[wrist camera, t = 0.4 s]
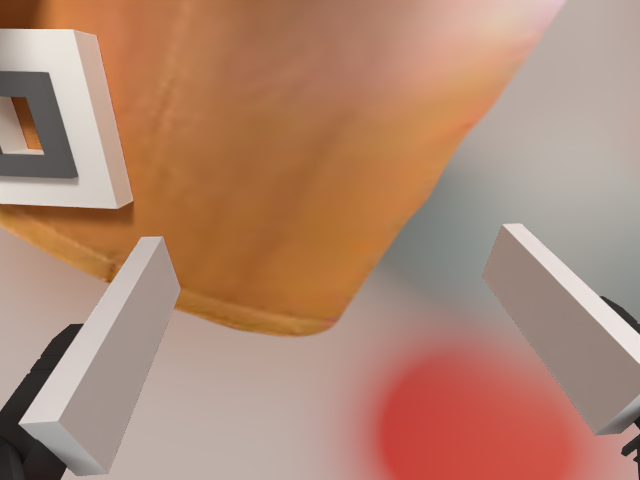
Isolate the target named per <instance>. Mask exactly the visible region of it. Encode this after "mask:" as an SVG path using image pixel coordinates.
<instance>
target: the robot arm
mask: <svg viewBox="0 0 640 480" xmlns="http://www.w3.org/2000/svg"><path fill="white" fill-rule="evenodd" d="M482 277H483V279H484V280H485V282H486V283H487V284H488V286H489V287H490V289H491V290H492V291H493V293H494V294H495V296H496V297H497V298H498V300H499V301H500V303H501V304H502V305H503V307H504V308H505V310H506V311H507V313H508V314H509V315H510V316H511V318H512V320H513V321H514V322H515V324H516V325H517V327H518V328H519V329H520V331H521V332H522V334H523V335H524V336H525V338H526V339H527V341H528V342H529V343H530V345H531V346H532V347H533V349H534V350H535V352H536V353H537V355H538V356H539V357H540V359H541V360H542V362H543V363H544V364H545V366H546V367H547V369H548V370H549V371H550V373H551V374H552V376H553V377H554V378H555V380H556V381H557V383H558V384H559V385H560V387H561V388H562V390H563V391H564V392H565V394H566V395H567V397H568V398H569V399H570V401H571V402H572V404H573V405H574V407H575V408H576V409H577V411H578V412H579V414H580V415H581V416H582V418H583V419H584V420H585V422H586V423H587V425H588V426H589V427H590V429H591V430H592V432H593V433H594V435H606V434H619V433H622V432H623V431H624V430H625V429H626V428H628V427H629V426H630V425H631V424H632V423H635V424H636V426H637V427H638V428H639V429H640V324H638V323H637V321H636V320H635V319H634V318H633V317H632V316H631V315H630V314H629V313H627V312H626V311H625V310H624V309H623V308H622V307H620V306H619V305H617V304H615V303H614V302H612V301H610V300H609V299H607V298H605V297H603V296H598V295H597V294H596V293H594V292H593V291H592V290H591V289H590V288H589V287H588V286H587V285H586V284H585V283H584V282H582V280H581V279H580V278H578V277H577V276H576V275H575V274H574V273H573V272H572V271H571V270H570V269H569V268H567V266H566V265H564V264H563V263H562V262H561V261H560V260H559V259H558V258H557V257H556V256H555V255H554V254H553V253H552V252H551V251H550V250H548V249H547V248H546V247H545V246H544V245H543V244H542V243H541V242H540V241H539V240H538V239H537V238H536V237H535V236H533V235H532V234H531V233H530V232H529V231H528V230H527V229H526V228H525V227H524V226H523V225H522V224H502V226H501V229H500V231H499V234H498V236H497V239H496V241H495V244H494V246H493V249H492V251H491V254H490V256H489V259H488V261H487V264H486V266H485V269H484V271H483V274H482ZM180 291H181V289H180V286H179V283H178V280H177V277H176V274H175V271H174V268H173V265H172V262H171V259H170V256H169V253H168V250H167V247H166V244H165V242H164V239H163V236H156V237H141V239H140V240H139V242H138V243H137V245H136V246H135V248H134V249H133V251H132V252H131V254H130V255H129V257H128V258H127V260H126V261H125V263H124V264H123V266H122V267H121V269H120V270H119V272H118V273H117V275H116V276H115V278H114V279H113V281H112V283H111V284H110V286H109V287H108V289H107V290H106V292H105V293H104V295H103V296H102V298H101V299H100V301H99V302H98V304H97V305H96V307H95V309H94V310H93V311H92V313H91V314H90V316H89V318H88V319H87V321H86V322H85V323H84V324H70V325H69V326H68V327H67V328H65V329H64V330H63V331H62V332H61V333H59V334H58V335H57V336H56V337H55V338H53V339H52V341H51V342H50V344H49V345H48V346H47V348H46V349H45V351H44V352H43V353H42V355H41V358H40V359H38V360H37V361H36V363H35V364H34V366H33V367H32V368H31V370H30V371H31V372H30V373H29V374H27V375H26V377H25V378H24V379H23V381H22V382H21V384H20V385H19V386H18V388H17V389H16V390H15V392H14V393H13V395H12V396H11V397H10V399H9V400H8V401H7V403H6V404H5V406H4V407H3V408H2V410H1V411H0V480H61V478H62V476H63V474H64V472H65V470H66V468H68V469H69V470H71V471H72V472H73V473H74V474H75V475H76V476H86V475H99V474H108V473H109V471H110V468H111V466H112V463H113V461H114V458H115V456H116V453H117V451H118V448H119V445H120V443H121V440H122V438H123V435H124V433H125V430H126V428H127V425H128V423H129V420H130V418H131V415H132V413H133V410H134V407H135V405H136V402H137V400H138V397H139V395H140V392H141V390H142V387H143V384H144V382H145V380H146V377H147V374H148V372H149V369H150V367H151V364H152V362H153V359H154V357H155V354H156V352H157V349H158V347H159V344H160V342H161V339H162V336H163V334H164V331H165V329H166V326H167V324H168V321H169V318H170V316H171V314H172V311H173V309H174V306H175V304H176V301H177V298H178V296H179V293H180ZM635 449H637V456H636V457H635V458H634V459H633V460H634V461H635V462H637V463H638V473H639V480H640V434H639V435H638V436H637V437H635V438H634V439H633V440H632V441H630V442H629V443H628V444H627V445H626V446H624V447H623V448H622V452H621V454H622V455H624V456H627V455H629V454H630V453H631V452H633V451H634V450H635Z"/></svg>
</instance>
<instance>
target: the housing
mask: <svg viewBox="0 0 640 480" xmlns="http://www.w3.org/2000/svg"><path fill="white" fill-rule="evenodd" d="M11 97H26V99H27V103H28V106H29V109H30V112H31V115H32V118H33V121H34V124H35V127H36V130H37V134H38V137H39V140H40V143H41V146H42V149H43V150H37V149H28V147H27V144H26V141H25V138H24V135H23V132H22V129H21V126H20V123H19V120H18V117H17V114H16V111H15V108H14V105H13V102H12V99H11ZM132 201H134V200H133V196H132V191H131V187H130V182H129V178H128V173H127V169H126V164H125V160H124V156H123V151H122V147H121V142H120V138H119V133H118V129H117V124H116V120H115V115H114V111H113V106H112V102H111V97H110V93H109V89H108V84H107V80H106V75H105V71H104V66H103V62H102V57H101V53H100V48H99V44H98V39H97V35H93V34H89V33H85V32H81V31H77V30H67V29H0V204H20V205H43V206H65V207H87V208H110V209H118V208H120V207H122V206H124V205H126V204H128V203H130V202H132Z"/></svg>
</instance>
